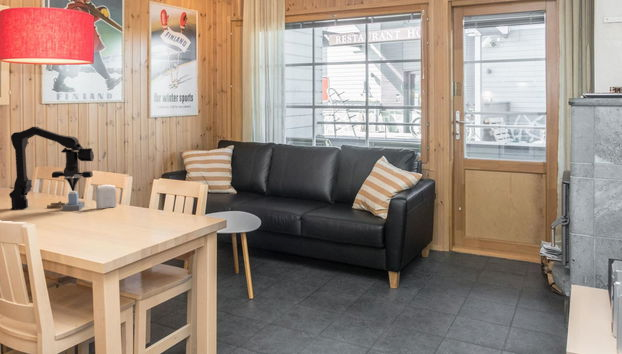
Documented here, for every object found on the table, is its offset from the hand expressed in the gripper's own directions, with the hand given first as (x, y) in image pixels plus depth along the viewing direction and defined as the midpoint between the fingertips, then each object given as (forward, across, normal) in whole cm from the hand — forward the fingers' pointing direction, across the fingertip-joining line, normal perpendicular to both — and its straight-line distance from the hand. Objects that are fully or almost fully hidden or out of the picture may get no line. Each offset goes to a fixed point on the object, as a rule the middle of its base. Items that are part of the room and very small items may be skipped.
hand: (73, 190), depth 268 cm
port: (+9, 0, 0) cm, 9 cm away
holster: (+9, -9, +9) cm, 16 cm away
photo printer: (+10, +16, +1) cm, 19 cm away
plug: (+10, 0, 0) cm, 10 cm away
